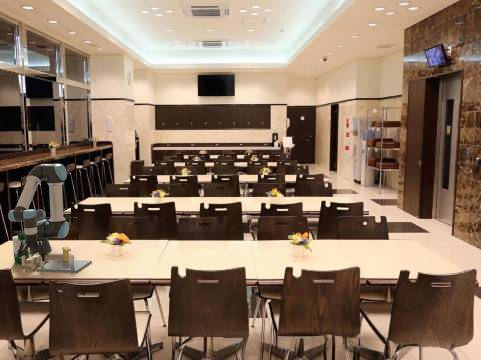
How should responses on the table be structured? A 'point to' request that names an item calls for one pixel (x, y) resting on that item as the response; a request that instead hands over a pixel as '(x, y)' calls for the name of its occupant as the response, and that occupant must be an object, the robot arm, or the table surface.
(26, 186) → the robot arm
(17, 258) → the milk carton
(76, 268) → the deck
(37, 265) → the link
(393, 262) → the table surface
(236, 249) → the table surface
